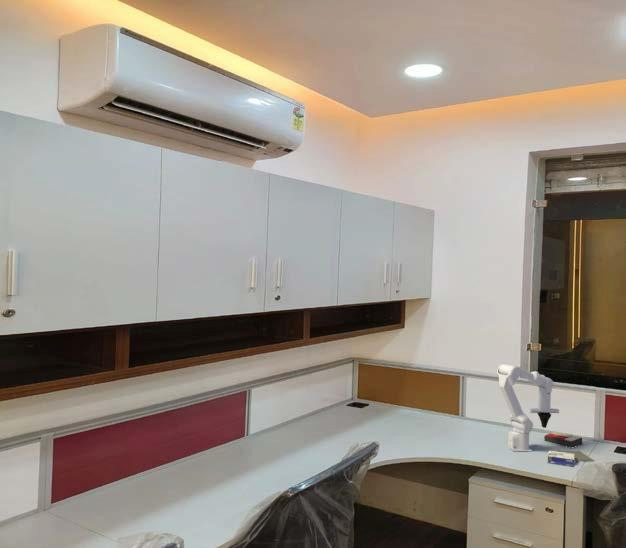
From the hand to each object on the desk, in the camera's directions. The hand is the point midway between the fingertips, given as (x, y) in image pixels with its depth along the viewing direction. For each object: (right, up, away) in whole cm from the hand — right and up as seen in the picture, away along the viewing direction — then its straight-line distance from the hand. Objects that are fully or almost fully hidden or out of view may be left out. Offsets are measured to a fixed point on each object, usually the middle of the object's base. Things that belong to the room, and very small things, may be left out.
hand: (544, 427), depth 286 cm
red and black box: (+12, -10, +6) cm, 17 cm away
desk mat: (+8, -10, -17) cm, 21 cm away
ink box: (+1, -8, -18) cm, 20 cm away
